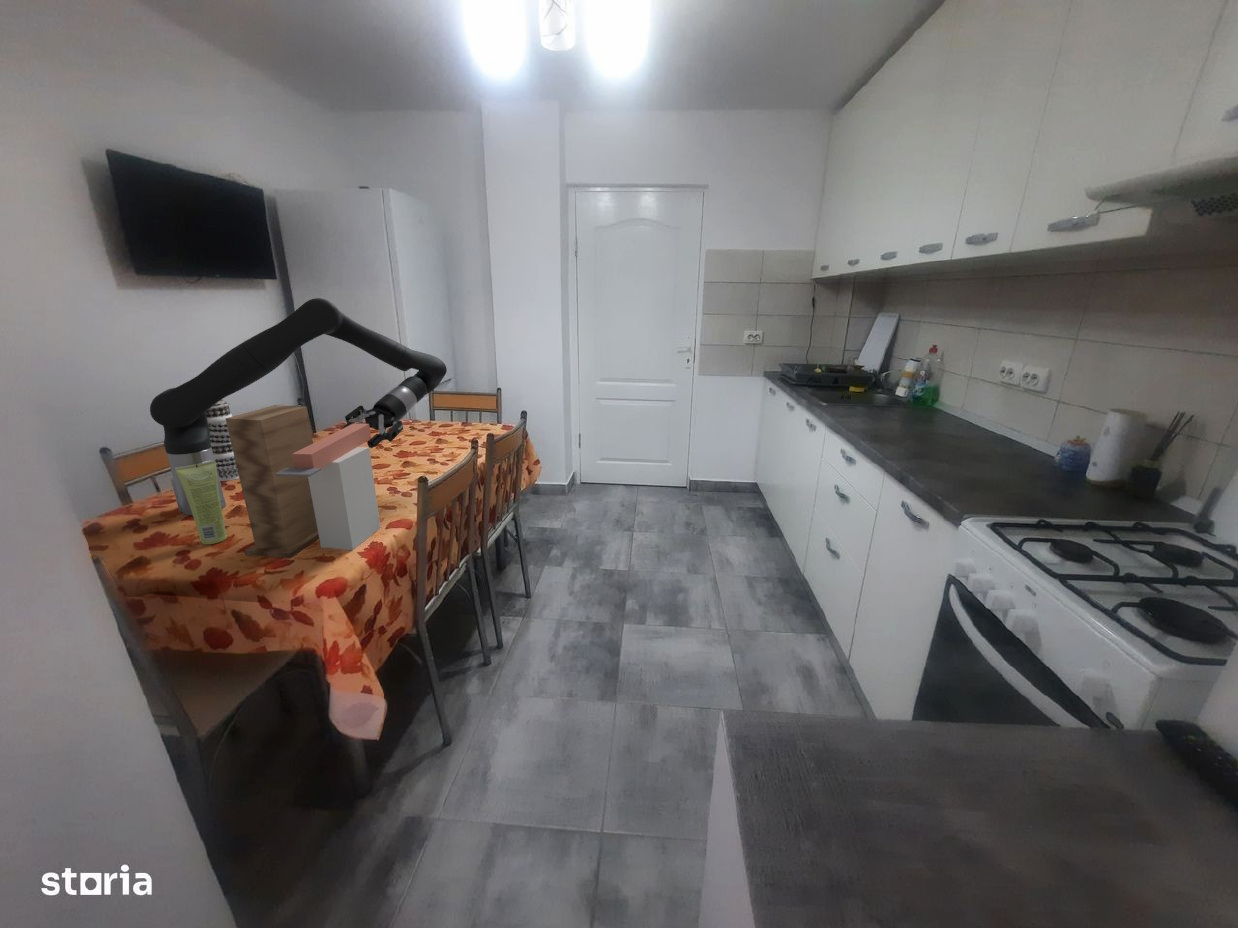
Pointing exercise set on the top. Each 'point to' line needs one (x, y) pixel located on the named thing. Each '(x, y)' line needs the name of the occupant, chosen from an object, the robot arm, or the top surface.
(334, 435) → the scraper
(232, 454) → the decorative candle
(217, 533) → the tube
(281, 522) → the stand
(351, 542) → the light grey rectangular block
